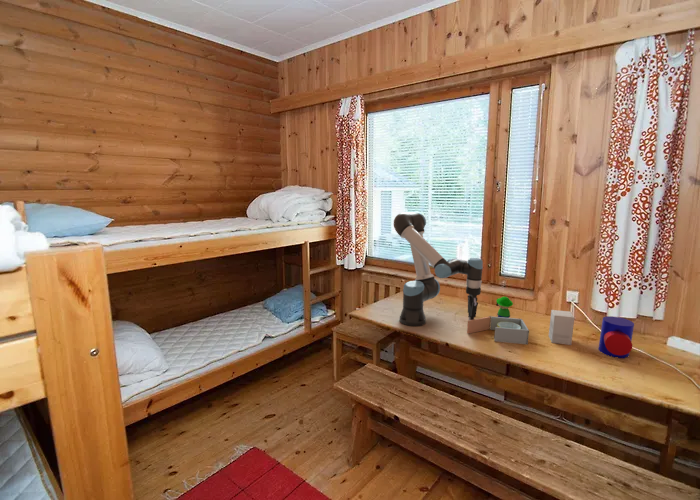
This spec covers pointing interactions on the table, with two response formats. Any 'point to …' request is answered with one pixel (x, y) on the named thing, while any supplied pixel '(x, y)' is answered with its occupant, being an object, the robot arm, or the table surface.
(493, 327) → the box
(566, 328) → the supplement box
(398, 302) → the table surface
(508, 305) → the toy
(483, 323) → the door
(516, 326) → the bowl
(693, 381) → the table surface
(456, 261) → the robot arm
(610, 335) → the cylinder
